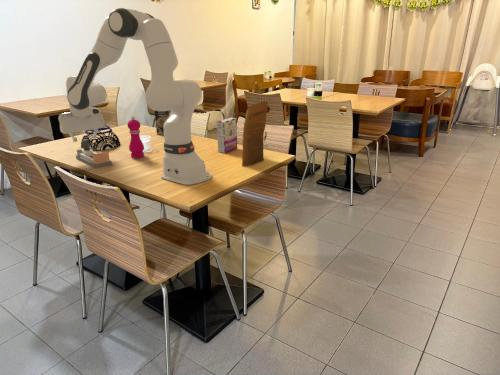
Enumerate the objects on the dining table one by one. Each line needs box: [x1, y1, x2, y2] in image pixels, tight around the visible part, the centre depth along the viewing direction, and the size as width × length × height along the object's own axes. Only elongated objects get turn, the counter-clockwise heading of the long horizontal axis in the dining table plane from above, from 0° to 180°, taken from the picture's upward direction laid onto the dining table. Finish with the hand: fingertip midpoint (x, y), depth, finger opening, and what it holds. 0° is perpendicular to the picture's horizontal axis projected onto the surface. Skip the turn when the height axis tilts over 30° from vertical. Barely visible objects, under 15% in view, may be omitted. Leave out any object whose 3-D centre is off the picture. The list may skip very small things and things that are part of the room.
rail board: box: [75, 147, 113, 169], centre depth 182 cm, size 22×8×6 cm, turn 45°
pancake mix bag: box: [241, 100, 268, 167], centre depth 175 cm, size 7×19×28 cm, turn 143°
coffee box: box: [154, 110, 171, 136], centre depth 233 cm, size 9×6×16 cm
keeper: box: [80, 138, 94, 157], centre depth 185 cm, size 5×4×8 cm
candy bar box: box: [216, 117, 238, 154], centre depth 197 cm, size 11×5×16 cm, turn 146°
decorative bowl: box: [80, 122, 121, 152], centre depth 207 cm, size 20×20×14 cm
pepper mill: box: [127, 116, 145, 159], centre depth 187 cm, size 7×7×20 cm
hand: (85, 139), depth 184 cm, fingers open, 8 cm apart
